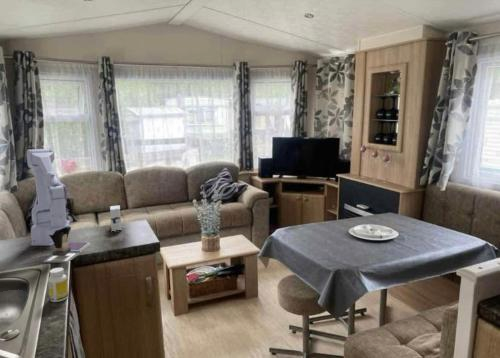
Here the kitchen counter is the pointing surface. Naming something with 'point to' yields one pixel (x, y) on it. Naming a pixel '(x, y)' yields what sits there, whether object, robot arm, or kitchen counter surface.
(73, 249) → the ink pad
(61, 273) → the supplement bottle
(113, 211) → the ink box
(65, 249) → the stamp
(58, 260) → the marked square
